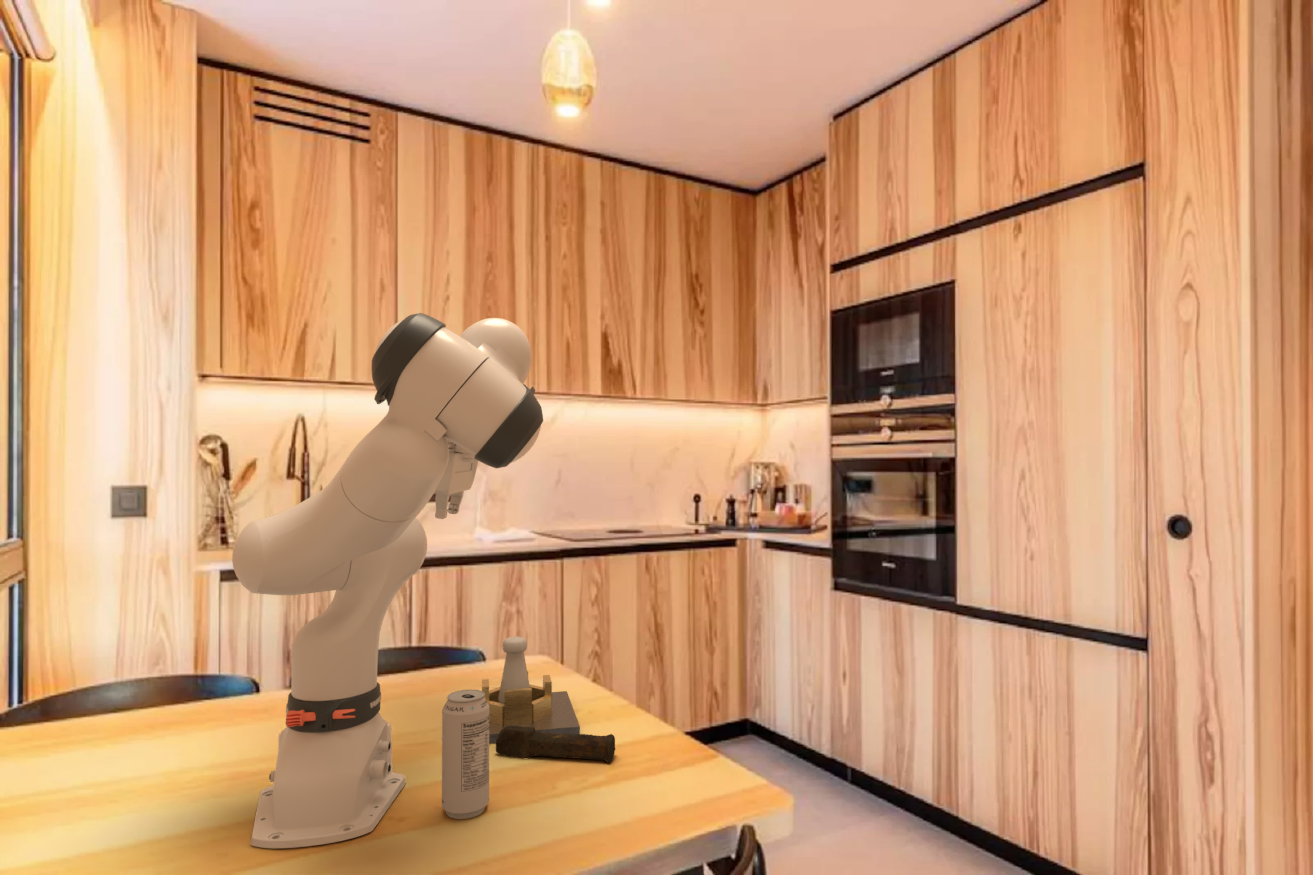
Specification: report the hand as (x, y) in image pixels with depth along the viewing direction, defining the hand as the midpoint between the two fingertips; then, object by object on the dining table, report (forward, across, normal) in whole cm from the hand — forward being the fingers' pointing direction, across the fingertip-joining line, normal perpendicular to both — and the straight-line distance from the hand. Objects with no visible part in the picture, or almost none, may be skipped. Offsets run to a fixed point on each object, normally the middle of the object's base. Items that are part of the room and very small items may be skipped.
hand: (446, 515), depth 137 cm
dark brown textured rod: (+32, -24, -27) cm, 48 cm away
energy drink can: (+33, -40, -18) cm, 55 cm away
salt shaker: (+32, -6, -19) cm, 38 cm away
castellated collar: (+33, -6, -19) cm, 39 cm away
